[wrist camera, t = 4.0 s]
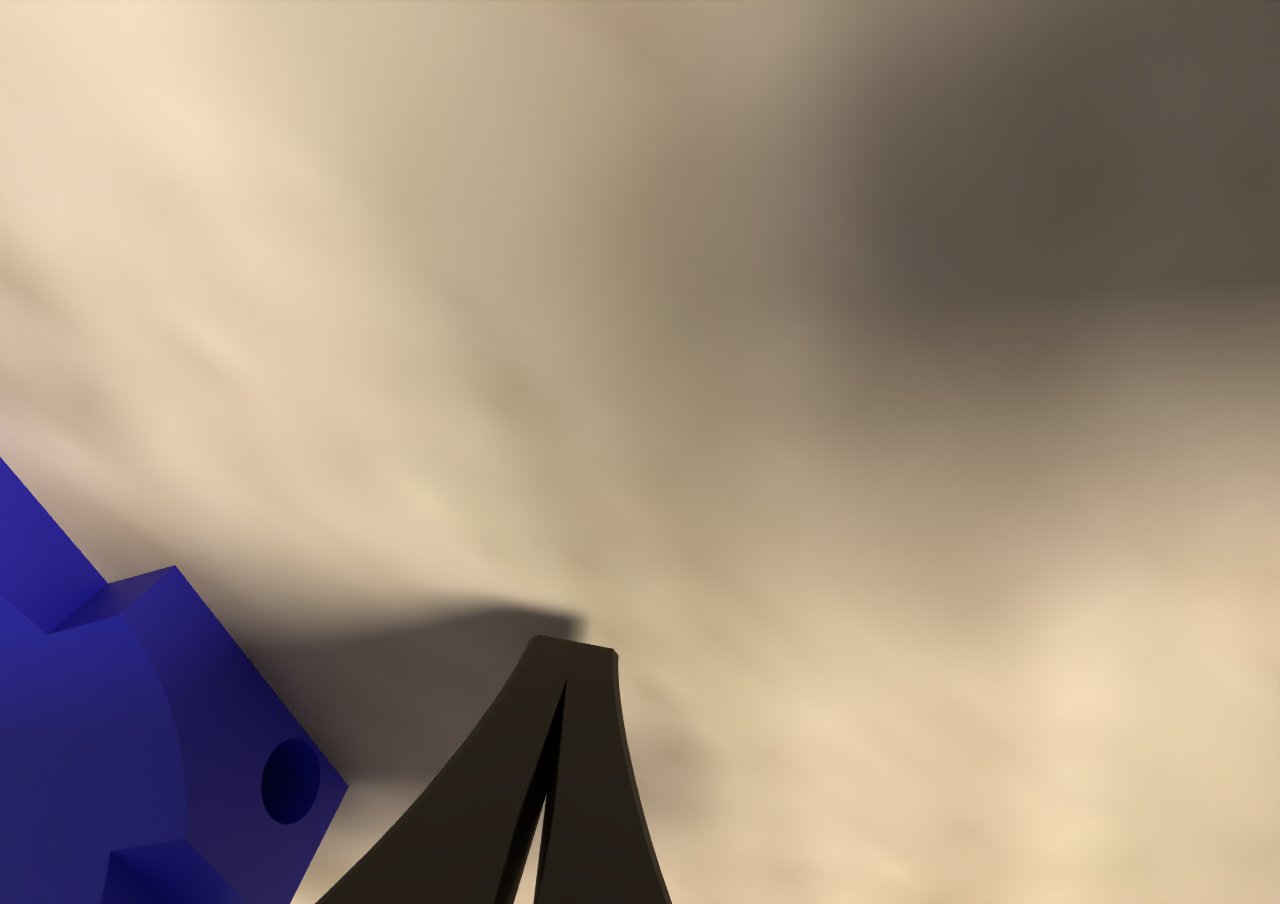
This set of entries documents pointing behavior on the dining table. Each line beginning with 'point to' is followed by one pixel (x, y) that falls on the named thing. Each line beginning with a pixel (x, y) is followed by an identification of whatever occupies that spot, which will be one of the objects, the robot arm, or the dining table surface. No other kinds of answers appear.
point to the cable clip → (139, 739)
